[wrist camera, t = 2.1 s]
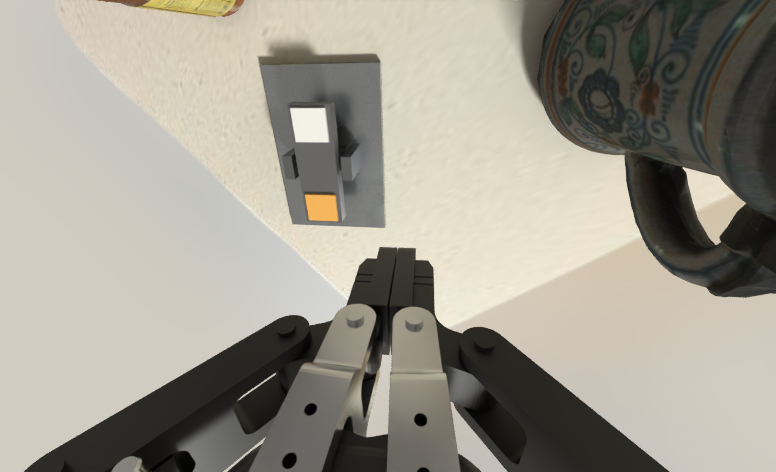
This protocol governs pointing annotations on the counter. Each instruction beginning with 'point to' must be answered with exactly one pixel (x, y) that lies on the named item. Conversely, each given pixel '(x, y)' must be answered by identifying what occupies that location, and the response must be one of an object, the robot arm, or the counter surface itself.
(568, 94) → the beer stein
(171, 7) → the sauce bottle
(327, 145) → the lever
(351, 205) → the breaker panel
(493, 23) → the counter surface
